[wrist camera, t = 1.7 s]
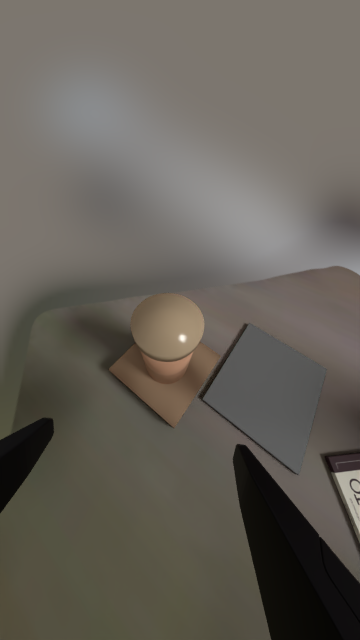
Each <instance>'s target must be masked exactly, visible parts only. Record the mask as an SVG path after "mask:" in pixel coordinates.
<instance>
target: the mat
mask: <svg viewBox="0 0 360 640" xmlns="http://www.w3.org/2000/svg"><path fill="white" fill-rule="evenodd" d="M326 370H327V369H326V368H324V367H323V366H321V365H319V364H318V363H316V362H314V361H313V360H311V359H309V358H308V357H306V356H304V355H303V354H301V353H299V352H298V351H296V350H294V349H292V348H291V347H289V346H287V345H286V344H284V343H282V342H281V341H279V340H277V339H276V338H274V337H272V336H271V335H269V334H267V333H266V332H264V331H262V330H261V329H259V328H257V327H256V326H254V325H252V324H251V323H249V324H248V326H247V328H246V329H245V331H244V332H243V334H242V336H241V337H240V339H239V340H238V342H237V344H236V345H235V347H234V349H233V350H232V352H231V353H230V355H229V357H228V358H227V360H226V361H225V363H224V365H223V366H222V368H221V370H220V371H219V373H218V374H217V376H216V378H215V379H214V381H213V382H212V384H211V386H210V387H209V389H208V391H207V392H206V394H205V395H204V397H203V399H202V400H203V401H204V402H206V403H207V404H208V405H209V406H211V407H212V408H213V409H214V410H216V411H217V412H218V413H219V414H221V415H222V416H223V417H224V418H226V419H227V420H228V421H229V422H231V423H232V424H233V425H234V426H236V427H237V428H238V429H240V430H241V431H242V432H243V433H245V434H246V435H247V436H248V437H250V438H251V439H252V440H253V441H255V442H256V443H257V444H258V445H260V446H261V447H262V448H263V449H265V450H266V451H267V452H268V453H270V454H271V455H272V456H274V457H275V458H276V459H277V460H279V461H280V462H281V463H282V464H284V465H285V466H286V467H287V468H289V469H290V470H291V471H292V472H294V473H295V474H297V475H299V473H300V470H301V466H302V462H303V458H304V454H305V451H306V447H307V443H308V439H309V435H310V431H311V428H312V424H313V420H314V416H315V412H316V408H317V405H318V401H319V397H320V393H321V389H322V386H323V382H324V378H325V374H326Z"/></svg>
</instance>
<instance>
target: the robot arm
mask: <svg viewBox="0 0 360 640" xmlns="http://www.w3.org/2000/svg"><path fill="white" fill-rule="evenodd" d="M53 433H54V426H53V419H52V418H41V419H40V420H38V421H36V422H34V423H32V424H30V425H28V426H26V427H24V428H22V429H20V430H19V431H17V432H15V433H13V434H11V435H9V436H7V437H5V438H4V439H1V440H0V513H1V512H2V510H3V509H4V508H5V506H6V505H7V503H8V502H9V501H10V499H11V498H12V497H13V495H14V494H15V493H16V491H17V490H18V489H19V487H20V486H21V484H22V483H23V482H24V480H25V479H26V478H27V476H28V475H29V473H30V472H31V470H32V469H33V467H34V465H35V464H36V462H37V461H38V459H39V457H40V456H41V454H42V453H43V451H44V449H45V448H46V446H47V445H48V443H49V441H50V440H51V438H52V436H53ZM233 465H234V471H235V478H236V485H237V491H238V498H239V504H240V508H241V513H242V517H243V522H244V526H245V530H246V534H247V539H248V543H249V547H250V551H251V556H252V560H253V564H254V568H255V573H256V577H257V581H258V585H259V589H260V594H261V598H262V602H263V606H264V611H265V615H266V619H267V623H268V628H269V632H270V636H271V640H360V583H359V582H358V580H357V579H356V578H355V577H354V576H353V575H352V574H351V573H350V571H349V570H348V569H347V568H346V567H345V565H344V564H343V563H342V562H341V561H340V559H339V558H338V557H337V556H336V555H335V553H334V552H333V551H332V550H331V549H330V547H329V546H328V545H327V544H326V543H325V541H324V540H323V539H322V538H321V537H319V534H318V533H317V532H316V530H315V529H314V528H313V527H312V526H311V524H310V523H309V522H308V521H307V519H306V518H305V517H304V516H303V515H302V513H301V512H300V511H299V510H298V508H297V507H296V506H295V505H294V504H293V502H292V501H291V500H290V499H289V497H288V496H287V495H286V494H285V493H284V491H283V490H282V489H281V488H280V486H279V485H278V484H277V483H276V482H275V480H274V479H273V478H272V477H271V475H270V474H269V473H268V472H267V471H266V469H265V468H264V467H263V466H262V464H261V463H260V462H259V461H258V460H257V458H256V457H255V456H254V455H253V453H252V452H251V451H250V450H249V449H248V447H247V446H246V445H242V444H237V445H236V448H235V452H234V456H233Z"/></svg>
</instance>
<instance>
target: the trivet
mask: <svg viewBox="0 0 360 640" xmlns="http://www.w3.org/2000/svg"><path fill="white" fill-rule="evenodd" d="M220 357H221V356H220V355H219V354H217V353H216V352H214V351H213V350H211V349H210V348H208V347H207V346H205V345H204V344H203V343H201V342H199V344H198V346H197V348H196V349H195V350H194V351H193V354H192V357H191V359H190V362H189V365H188V368H187V370H186V372H185V374H184V376H183V377H182V378H181V379H180V380H178V381H177V382H175V383H171V384H162V383H159V382H157V381H155V380H153V379H152V378H151V376H150V375H149V373H148V371H147V368H146V365H145V362H144V359H143V356H142V353H141V351H140V349H139V348H138V347H137V345H136V343H134V344H133V345H132V346H131V347H130V348H129V349H128V350H127V351H126V352H125V353H124V354H123V355H122V356H121V357H120V358H119V359H118V360H117V361H116V362H115V363H114V364H113V365H112V366H111V367H110V368H109V369H108V370H110V371H111V372H112V373H113V374H114V375H115V376H116V377H117V378H118V379H119V380H120V381H121V382H123V383H124V384H125V385H126V386H127V387H128V388H129V389H130V390H131V391H133V392H134V393H135V394H136V395H137V396H138V397H139V398H140V399H142V400H143V401H144V402H145V403H146V404H147V405H148V406H149V407H150V408H152V409H153V410H154V411H155V412H156V413H157V414H158V415H159V416H161V417H162V418H163V419H164V420H165V421H166V422H167V423H168V424H170V425H171V426H172V427H173V428H175V426H176V425H177V423H178V422H179V420H180V418H181V417H182V415H183V414H184V412H185V411H186V409H187V408H188V406H189V405H190V403H191V401H192V400H193V398H194V397H195V395H196V394H197V392H198V391H199V389H200V388H201V386H202V384H203V383H204V381H205V380H206V378H207V377H208V375H209V374H210V372H211V371H212V369H213V367H214V366H215V364H216V363H217V361H218V360H219V358H220Z"/></svg>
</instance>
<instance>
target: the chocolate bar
mask: <svg viewBox="0 0 360 640" xmlns="http://www.w3.org/2000/svg"><path fill="white" fill-rule="evenodd" d="M325 459H326V461H327V464H328V466H329V469H330V471H331V474H332V476H333V479H334V481H335V484H336V486H337V489H338V491H339V494H340V496H341V498H342V501H343V503H344V506H345V508H346V511H347V513H348V516H349V518H350V521H351V523H352V526H353V528H354V531H355V533H356V536H357V538H358V540H359V543H360V452H359V453H350V454H342V455H333V456H325Z"/></svg>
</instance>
